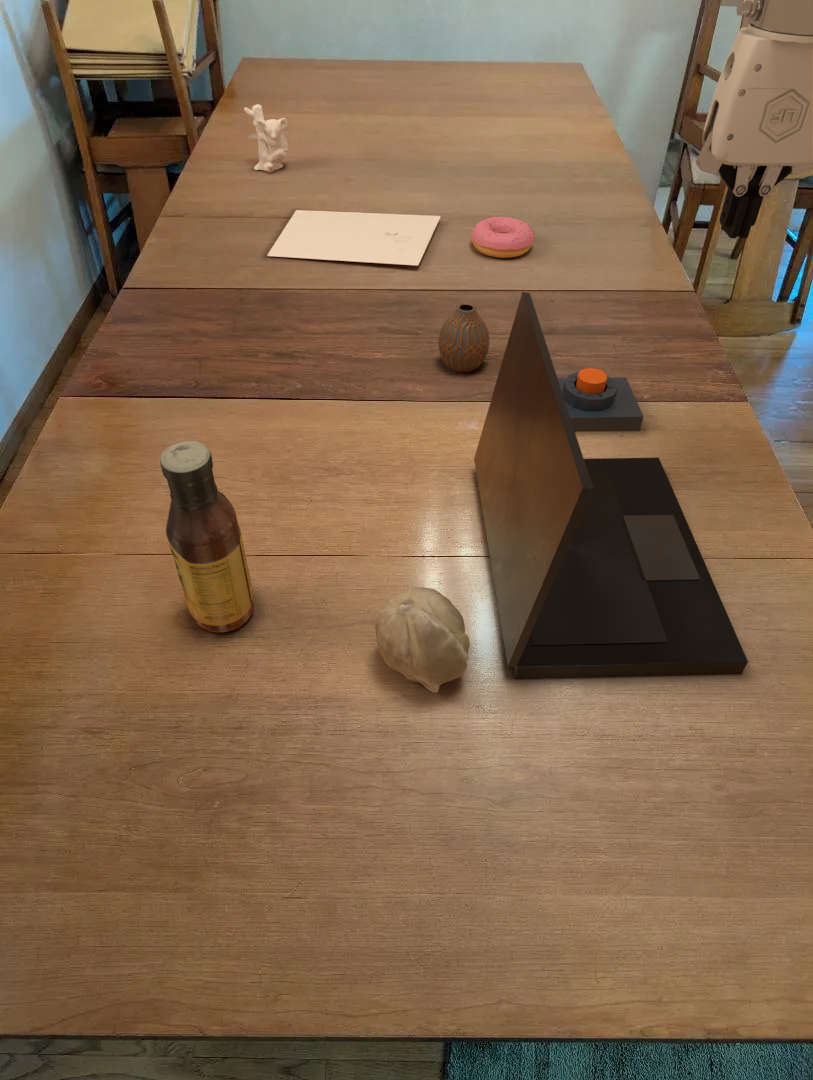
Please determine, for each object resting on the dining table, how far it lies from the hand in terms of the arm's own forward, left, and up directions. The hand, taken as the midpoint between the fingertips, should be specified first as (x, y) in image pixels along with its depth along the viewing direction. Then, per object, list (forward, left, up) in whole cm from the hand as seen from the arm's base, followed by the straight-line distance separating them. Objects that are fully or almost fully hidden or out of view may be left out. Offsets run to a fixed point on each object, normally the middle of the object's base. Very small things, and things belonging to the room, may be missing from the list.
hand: (733, 232), depth 78 cm
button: (+2, -12, -23) cm, 26 cm away
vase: (+8, -30, -27) cm, 41 cm away
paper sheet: (-3, -74, -27) cm, 79 cm away
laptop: (+21, +8, -27) cm, 35 cm away
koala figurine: (-8, -113, -27) cm, 117 cm away
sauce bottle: (+56, -8, -27) cm, 63 cm away
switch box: (+2, -12, -27) cm, 30 cm away
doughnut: (-22, -56, -27) cm, 66 cm away
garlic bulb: (+44, +8, -27) cm, 52 cm away
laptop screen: (+28, +3, -15) cm, 32 cm away
